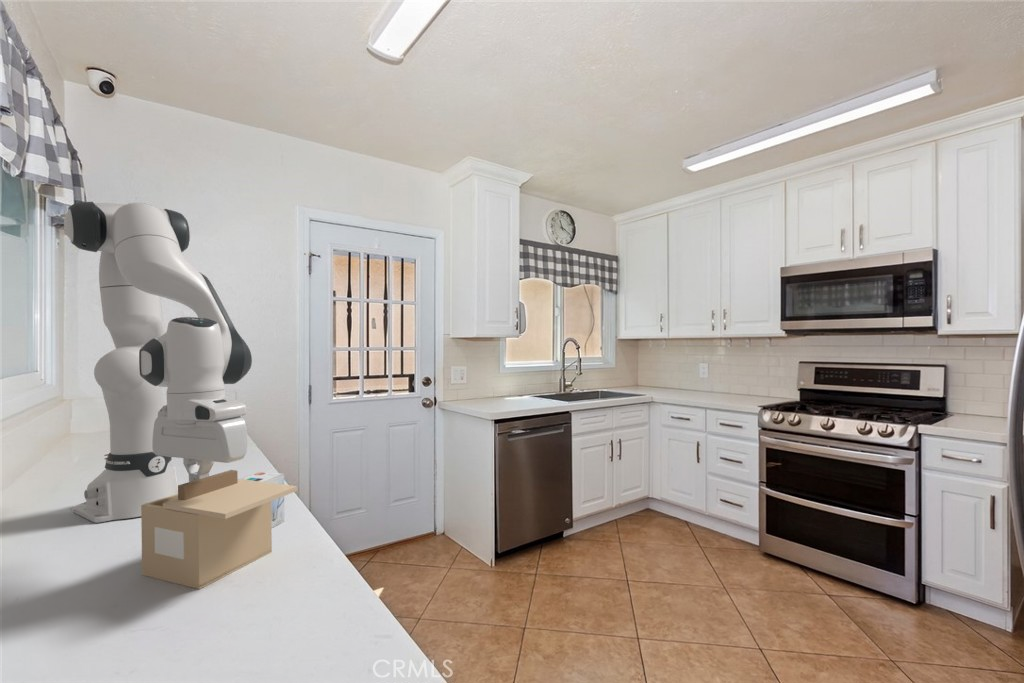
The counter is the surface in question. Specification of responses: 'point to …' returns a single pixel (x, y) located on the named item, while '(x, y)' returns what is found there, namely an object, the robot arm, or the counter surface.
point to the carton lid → (225, 495)
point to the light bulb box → (276, 504)
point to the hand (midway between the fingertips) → (199, 482)
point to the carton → (201, 543)
